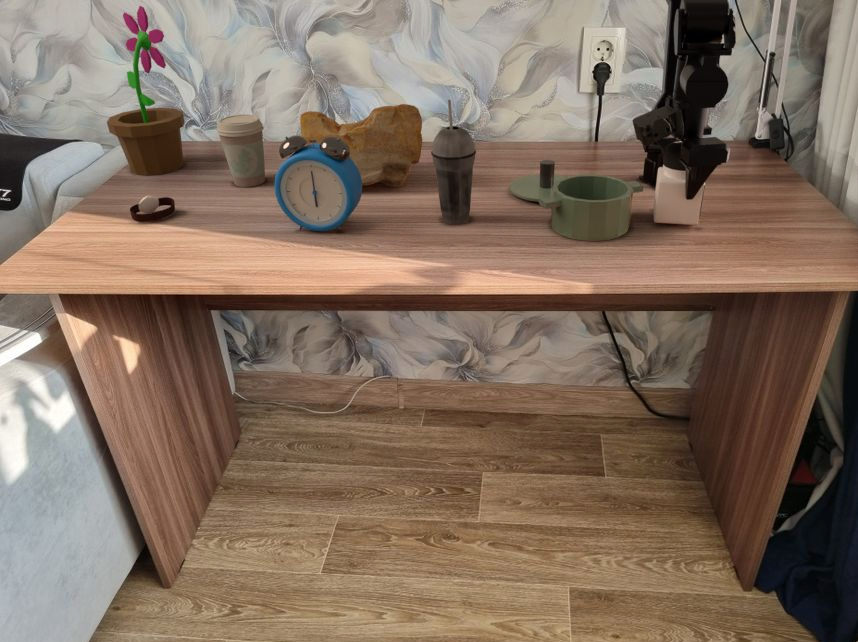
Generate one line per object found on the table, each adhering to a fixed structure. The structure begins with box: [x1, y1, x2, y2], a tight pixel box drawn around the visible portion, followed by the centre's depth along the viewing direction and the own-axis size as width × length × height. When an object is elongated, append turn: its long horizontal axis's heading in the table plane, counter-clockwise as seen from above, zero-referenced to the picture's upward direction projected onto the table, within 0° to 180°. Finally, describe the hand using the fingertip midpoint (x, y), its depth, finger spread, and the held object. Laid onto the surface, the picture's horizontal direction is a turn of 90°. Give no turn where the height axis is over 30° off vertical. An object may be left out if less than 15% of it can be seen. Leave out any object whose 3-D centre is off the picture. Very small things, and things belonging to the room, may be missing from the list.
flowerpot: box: [106, 5, 186, 176], centre depth 143 cm, size 14×14×30 cm
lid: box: [508, 159, 569, 203], centre depth 132 cm, size 14×14×6 cm
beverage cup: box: [430, 99, 477, 226], centre depth 118 cm, size 7×7×20 cm
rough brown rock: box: [299, 103, 423, 188], centre depth 138 cm, size 23×17×15 cm
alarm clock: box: [274, 135, 363, 233], centre depth 118 cm, size 13×6×15 cm, turn 81°
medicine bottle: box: [653, 141, 706, 226], centre depth 118 cm, size 7×7×12 cm
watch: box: [129, 194, 176, 223], centre depth 126 cm, size 8×5×4 cm, turn 135°
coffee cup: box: [216, 113, 266, 188], centre depth 139 cm, size 8×8×12 cm
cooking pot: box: [538, 174, 644, 242], centre depth 118 cm, size 13×18×6 cm
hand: (678, 189), depth 119 cm, fingers closed on medicine bottle, 8 cm apart
